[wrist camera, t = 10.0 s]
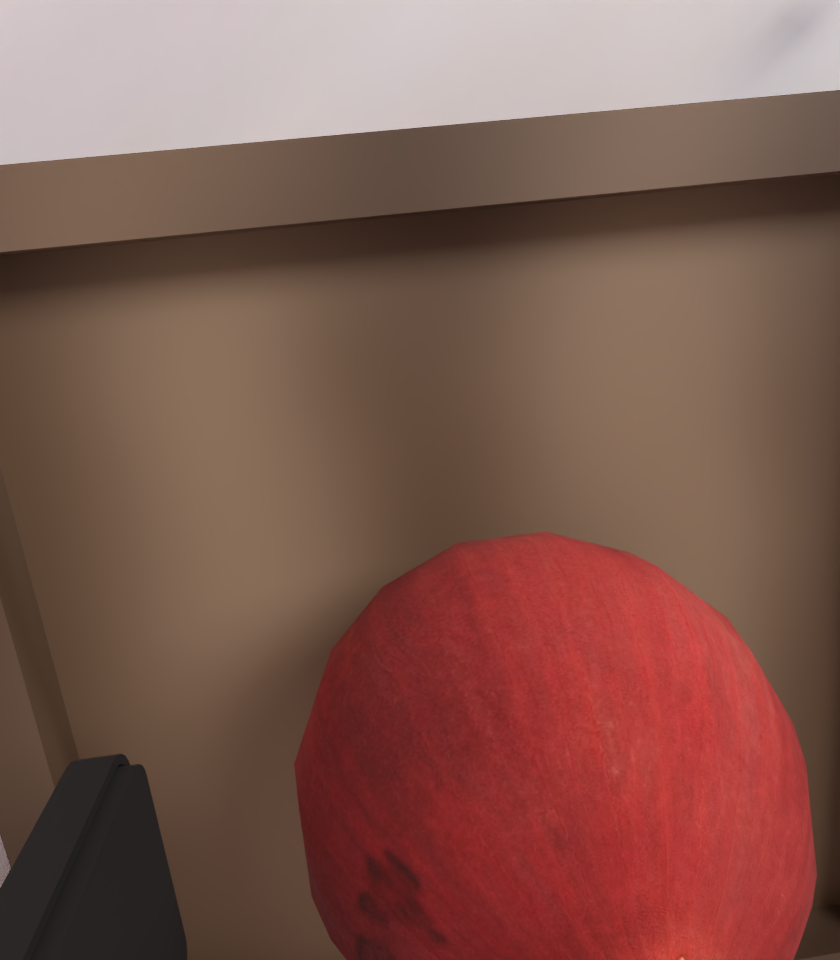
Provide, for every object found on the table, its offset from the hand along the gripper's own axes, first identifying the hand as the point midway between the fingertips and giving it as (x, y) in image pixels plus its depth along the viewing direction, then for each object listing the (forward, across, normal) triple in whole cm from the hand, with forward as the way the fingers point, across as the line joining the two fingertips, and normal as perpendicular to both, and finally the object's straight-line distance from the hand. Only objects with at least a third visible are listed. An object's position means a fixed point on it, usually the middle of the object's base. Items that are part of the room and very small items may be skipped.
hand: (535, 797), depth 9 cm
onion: (+4, 0, 0) cm, 4 cm away
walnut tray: (+7, 0, 0) cm, 7 cm away
